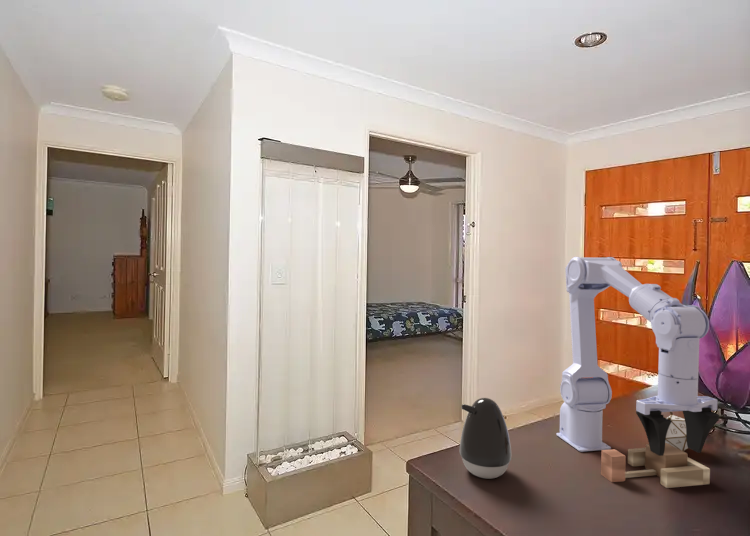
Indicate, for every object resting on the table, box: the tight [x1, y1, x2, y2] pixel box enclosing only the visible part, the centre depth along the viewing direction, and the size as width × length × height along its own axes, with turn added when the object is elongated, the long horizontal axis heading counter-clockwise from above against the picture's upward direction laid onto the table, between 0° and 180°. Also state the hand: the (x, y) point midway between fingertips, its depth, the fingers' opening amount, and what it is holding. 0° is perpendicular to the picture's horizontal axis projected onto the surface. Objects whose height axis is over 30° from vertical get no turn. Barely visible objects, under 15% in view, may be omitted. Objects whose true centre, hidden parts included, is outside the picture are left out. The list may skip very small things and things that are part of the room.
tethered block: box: [600, 443, 689, 483], centre depth 86 cm, size 5×16×5 cm, turn 99°
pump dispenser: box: [459, 397, 512, 480], centre depth 87 cm, size 10×10×15 cm
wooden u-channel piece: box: [627, 447, 711, 489], centre depth 87 cm, size 10×10×3 cm
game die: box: [665, 411, 689, 452], centre depth 98 cm, size 9×8×10 cm
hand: (675, 451), depth 75 cm, fingers open, 7 cm apart
